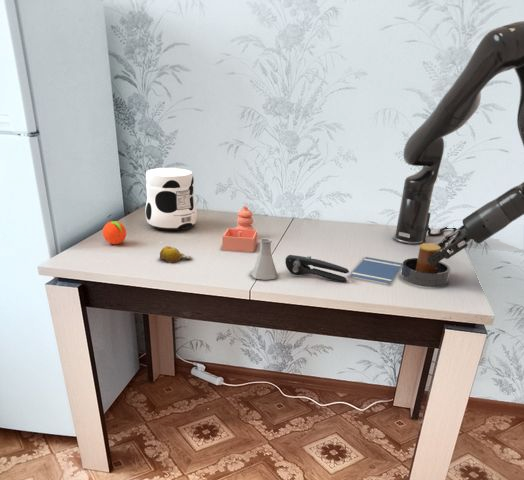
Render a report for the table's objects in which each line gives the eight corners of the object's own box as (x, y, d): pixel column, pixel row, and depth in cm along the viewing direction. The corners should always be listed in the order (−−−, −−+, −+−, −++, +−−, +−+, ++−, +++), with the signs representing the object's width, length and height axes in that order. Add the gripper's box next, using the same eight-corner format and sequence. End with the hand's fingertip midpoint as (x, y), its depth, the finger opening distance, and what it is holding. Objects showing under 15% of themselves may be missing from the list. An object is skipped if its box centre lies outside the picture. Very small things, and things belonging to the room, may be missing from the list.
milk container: (155, 218, 182) (152, 165, 173) (202, 221, 180) (201, 169, 171) (139, 231, 167) (134, 175, 158) (189, 235, 165) (188, 178, 156)
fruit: (193, 259, 146) (193, 246, 144) (171, 265, 140) (170, 253, 138) (175, 252, 150) (174, 240, 149) (153, 258, 145) (152, 246, 143)
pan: (426, 269, 146) (429, 256, 144) (456, 285, 136) (459, 271, 134) (391, 274, 142) (393, 260, 140) (419, 290, 132) (422, 276, 130)
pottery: (253, 252, 153) (254, 220, 148) (222, 249, 154) (222, 217, 149) (260, 235, 169) (261, 205, 164) (232, 233, 169) (232, 203, 165)
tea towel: (366, 258, 153) (366, 256, 152) (402, 264, 149) (402, 263, 148) (349, 277, 138) (349, 275, 138) (389, 284, 134) (389, 283, 134)
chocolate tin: (425, 273, 142) (431, 242, 137) (437, 280, 138) (445, 248, 133) (409, 275, 140) (415, 244, 135) (422, 282, 136) (428, 250, 131)
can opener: (280, 276, 137) (281, 256, 134) (288, 267, 143) (289, 248, 140) (344, 287, 132) (347, 266, 129) (350, 278, 137) (352, 258, 135)
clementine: (133, 245, 154) (131, 222, 151) (113, 249, 150) (110, 226, 146) (119, 238, 159) (117, 216, 156) (99, 243, 155) (96, 220, 151)
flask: (250, 270, 139) (251, 235, 134) (276, 270, 140) (277, 235, 135) (251, 280, 133) (252, 243, 128) (278, 280, 134) (281, 244, 129)
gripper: (479, 203, 132) (425, 239, 141) (478, 215, 120) (419, 254, 129) (495, 226, 133) (440, 260, 142) (495, 240, 121) (436, 277, 130)
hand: (430, 257), depth 136 cm, fingers open, 8 cm apart
